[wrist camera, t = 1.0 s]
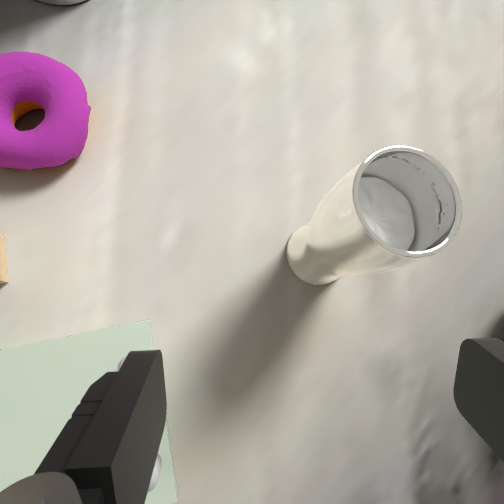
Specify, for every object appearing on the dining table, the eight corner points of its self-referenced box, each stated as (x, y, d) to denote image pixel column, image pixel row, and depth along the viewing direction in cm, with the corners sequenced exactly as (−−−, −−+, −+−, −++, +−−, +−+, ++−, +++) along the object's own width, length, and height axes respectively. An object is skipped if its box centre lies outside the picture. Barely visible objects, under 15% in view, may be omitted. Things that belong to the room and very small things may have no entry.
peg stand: (-20, 557, 25) (-60, 600, 21) (-34, 357, 27) (-71, 362, 23) (178, 496, 27) (175, 523, 24) (150, 319, 30) (143, 318, 26)
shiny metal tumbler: (364, 256, 34) (488, 204, 20) (318, 305, 33) (417, 288, 18) (315, 205, 35) (401, 118, 20) (266, 251, 33) (323, 192, 18)
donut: (-34, 173, 30) (-73, 147, 26) (-14, 71, 32) (-47, 31, 28) (91, 182, 32) (74, 159, 27) (102, 84, 34) (88, 48, 29)
